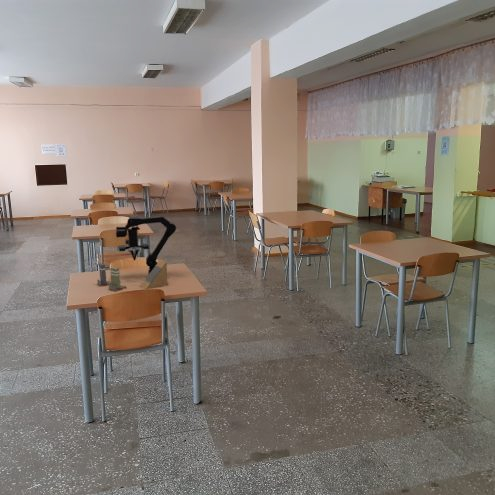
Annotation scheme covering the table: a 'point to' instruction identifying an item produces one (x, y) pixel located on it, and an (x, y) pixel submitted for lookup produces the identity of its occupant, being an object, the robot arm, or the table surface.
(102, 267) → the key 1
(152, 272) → the sandwich container
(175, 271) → the table surface
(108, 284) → the key rack
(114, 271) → the green striped block
